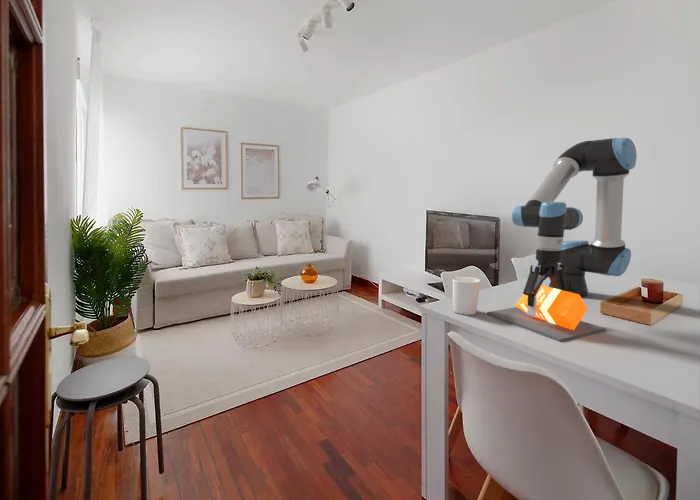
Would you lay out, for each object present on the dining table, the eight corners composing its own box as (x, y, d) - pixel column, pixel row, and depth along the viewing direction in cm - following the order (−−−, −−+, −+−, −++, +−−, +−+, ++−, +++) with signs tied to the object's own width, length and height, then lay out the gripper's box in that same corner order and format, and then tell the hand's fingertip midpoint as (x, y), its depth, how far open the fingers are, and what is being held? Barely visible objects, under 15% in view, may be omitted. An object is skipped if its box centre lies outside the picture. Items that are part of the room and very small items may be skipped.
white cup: (445, 309, 141) (446, 277, 140) (466, 306, 145) (468, 275, 143) (462, 316, 132) (464, 283, 131) (484, 313, 136) (486, 281, 134)
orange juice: (573, 330, 118) (519, 312, 136) (588, 309, 120) (532, 294, 138) (564, 315, 115) (509, 299, 133) (579, 293, 117) (523, 280, 135)
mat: (529, 306, 145) (529, 304, 145) (604, 330, 121) (605, 328, 121) (487, 314, 136) (487, 312, 136) (560, 341, 111) (560, 339, 111)
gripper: (534, 252, 116) (528, 321, 119) (582, 248, 126) (576, 311, 130) (514, 249, 123) (509, 314, 126) (561, 245, 133) (555, 305, 136)
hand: (543, 313), depth 128 cm, fingers open, 11 cm apart
